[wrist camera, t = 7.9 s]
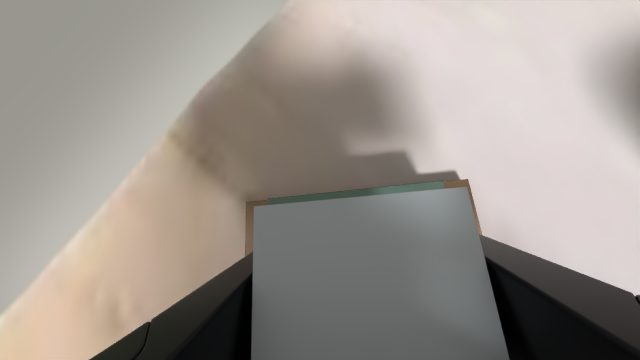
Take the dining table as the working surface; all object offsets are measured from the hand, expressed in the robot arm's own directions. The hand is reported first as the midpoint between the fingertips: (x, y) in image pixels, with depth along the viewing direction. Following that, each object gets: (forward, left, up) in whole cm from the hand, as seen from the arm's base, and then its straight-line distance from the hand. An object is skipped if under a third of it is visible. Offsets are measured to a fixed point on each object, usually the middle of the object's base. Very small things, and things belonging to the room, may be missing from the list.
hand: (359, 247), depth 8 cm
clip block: (-1, +1, -7) cm, 7 cm away
